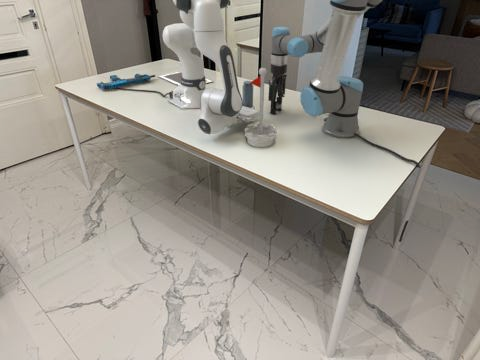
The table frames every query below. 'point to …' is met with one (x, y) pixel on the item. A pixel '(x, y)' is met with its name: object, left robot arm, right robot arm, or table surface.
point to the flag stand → (260, 120)
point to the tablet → (176, 78)
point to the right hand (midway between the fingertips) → (275, 111)
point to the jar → (247, 94)
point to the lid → (278, 105)
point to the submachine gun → (123, 81)
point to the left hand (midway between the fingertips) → (248, 106)
